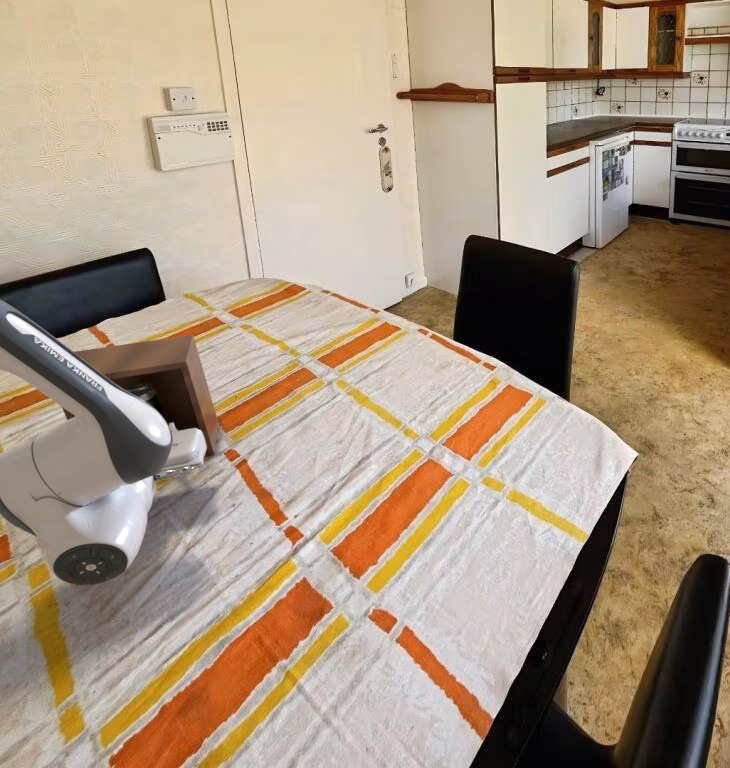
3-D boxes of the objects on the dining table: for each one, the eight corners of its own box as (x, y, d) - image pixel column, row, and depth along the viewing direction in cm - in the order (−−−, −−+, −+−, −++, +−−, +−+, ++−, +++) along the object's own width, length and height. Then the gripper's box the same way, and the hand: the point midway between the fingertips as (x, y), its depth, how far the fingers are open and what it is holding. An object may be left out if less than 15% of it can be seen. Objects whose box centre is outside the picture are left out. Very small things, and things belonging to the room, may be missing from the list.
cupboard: (93, 482, 99) (51, 382, 90) (107, 445, 108) (70, 352, 99) (215, 458, 104) (186, 361, 95) (219, 425, 113) (192, 334, 105)
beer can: (172, 440, 107) (151, 379, 101) (179, 454, 103) (157, 391, 98) (137, 452, 104) (113, 389, 99) (143, 466, 100) (119, 402, 95)
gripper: (196, 449, 84) (204, 402, 96) (20, 483, 79) (51, 428, 90) (208, 487, 87) (214, 436, 99) (39, 522, 82) (67, 464, 93)
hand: (135, 433), depth 94 cm, fingers open, 8 cm apart
